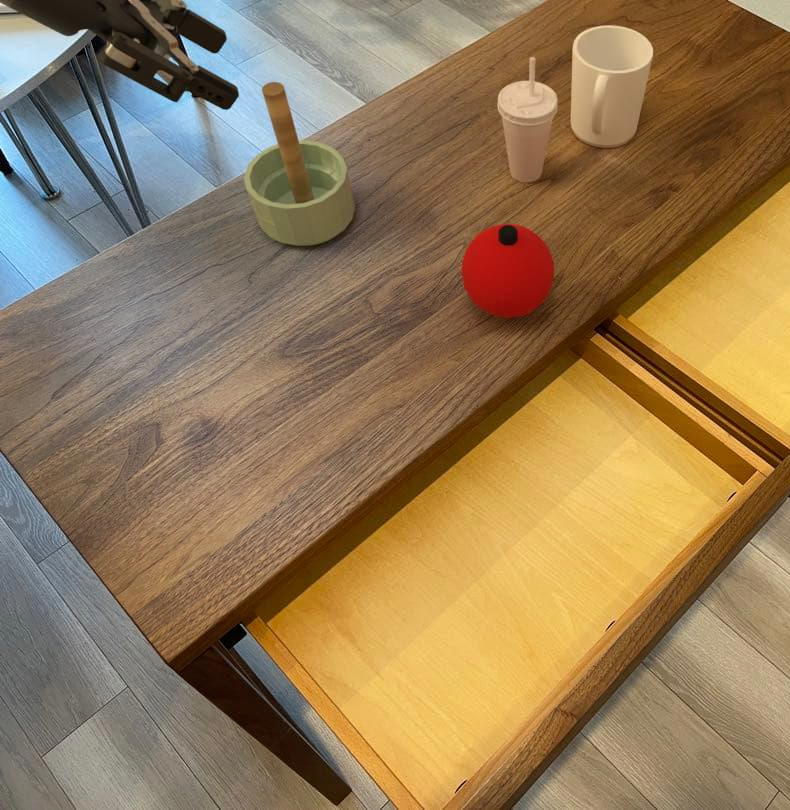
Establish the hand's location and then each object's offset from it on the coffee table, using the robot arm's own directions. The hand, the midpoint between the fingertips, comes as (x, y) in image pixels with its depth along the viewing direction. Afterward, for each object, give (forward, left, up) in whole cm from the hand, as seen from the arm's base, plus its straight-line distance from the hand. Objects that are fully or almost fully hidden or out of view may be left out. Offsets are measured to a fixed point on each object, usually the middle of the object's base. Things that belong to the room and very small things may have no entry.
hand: (227, 71), depth 69 cm
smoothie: (+28, 0, -18) cm, 34 cm away
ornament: (+20, -18, -18) cm, 33 cm away
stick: (+3, 0, -17) cm, 18 cm away
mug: (+39, +4, -18) cm, 43 cm away
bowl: (+3, 0, -18) cm, 18 cm away
